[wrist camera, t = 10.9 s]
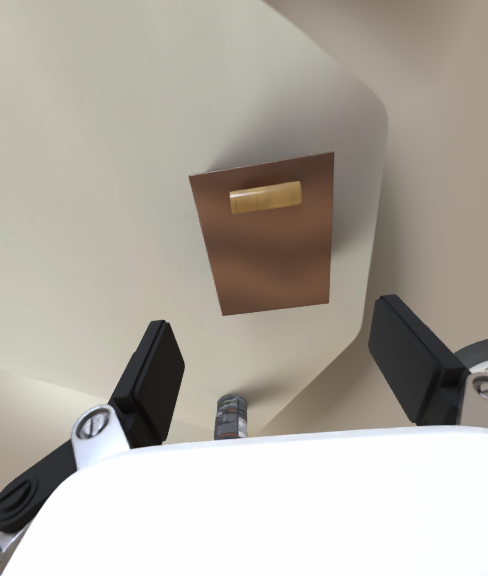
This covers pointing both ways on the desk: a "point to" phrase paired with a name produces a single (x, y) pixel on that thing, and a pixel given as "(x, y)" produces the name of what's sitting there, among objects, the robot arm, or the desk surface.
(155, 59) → the desk surface
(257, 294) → the lid
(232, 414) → the pill bottle
